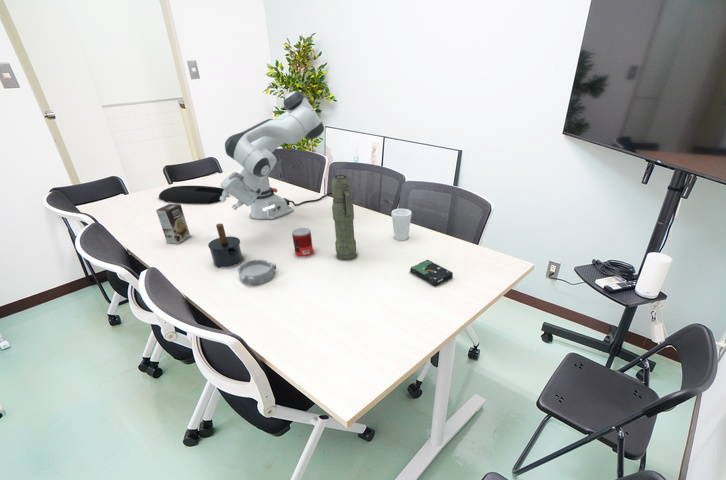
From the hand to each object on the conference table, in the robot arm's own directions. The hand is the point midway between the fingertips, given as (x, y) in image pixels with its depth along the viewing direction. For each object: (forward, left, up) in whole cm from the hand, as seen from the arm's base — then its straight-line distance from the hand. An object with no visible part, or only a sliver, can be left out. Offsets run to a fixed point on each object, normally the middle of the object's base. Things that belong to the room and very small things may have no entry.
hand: (227, 204), depth 172 cm
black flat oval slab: (-13, -80, -19) cm, 83 cm away
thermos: (-28, +46, -19) cm, 57 cm away
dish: (+9, +35, -19) cm, 41 cm away
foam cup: (-59, +50, -19) cm, 80 cm away
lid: (+11, +14, -10) cm, 21 cm away
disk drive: (-41, +84, -19) cm, 95 cm away
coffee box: (+17, -24, -19) cm, 35 cm away
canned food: (-16, +31, -19) cm, 40 cm away
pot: (+11, +14, -19) cm, 26 cm away
